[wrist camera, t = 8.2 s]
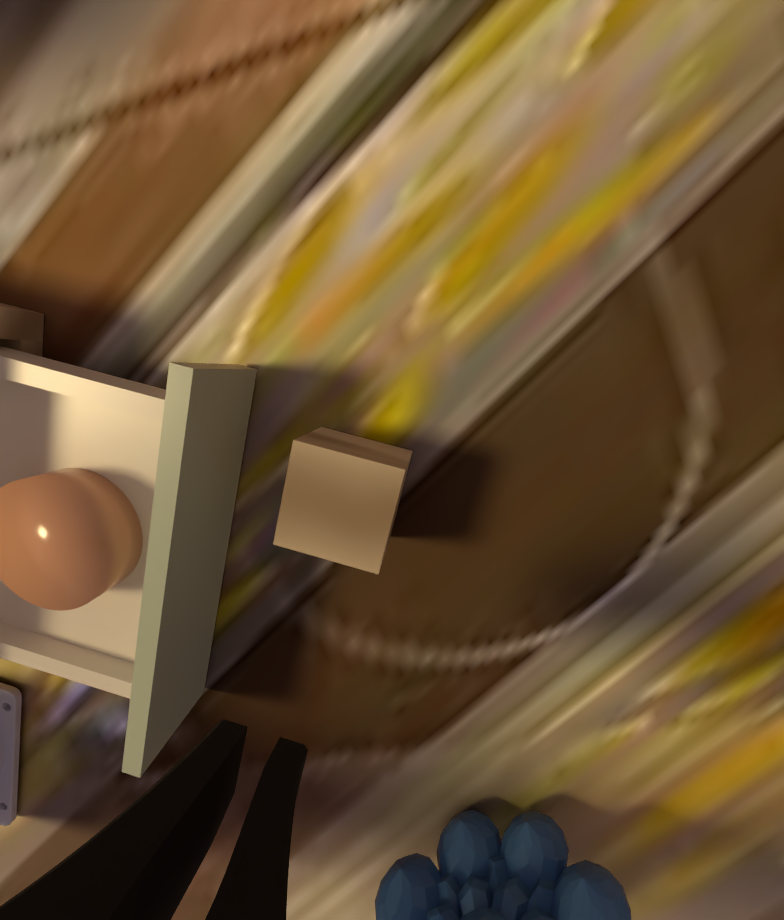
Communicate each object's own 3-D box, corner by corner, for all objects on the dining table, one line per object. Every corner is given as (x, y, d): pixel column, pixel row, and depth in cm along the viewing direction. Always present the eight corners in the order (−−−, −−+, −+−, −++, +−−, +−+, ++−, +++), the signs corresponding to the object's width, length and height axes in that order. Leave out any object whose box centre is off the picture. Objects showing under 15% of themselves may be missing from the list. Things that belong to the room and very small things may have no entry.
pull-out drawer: (203, 692, 21) (140, 777, 17) (16, 633, 22) (-93, 701, 17) (257, 369, 18) (193, 368, 13) (29, 310, 18) (-106, 290, 14)
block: (390, 536, 19) (378, 574, 15) (303, 512, 19) (273, 544, 15) (412, 450, 18) (405, 470, 14) (321, 427, 18) (293, 439, 15)
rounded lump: (138, 601, 18) (105, 625, 17) (25, 570, 19) (-18, 591, 17) (147, 484, 17) (113, 497, 15) (26, 454, 18) (-20, 463, 16)
